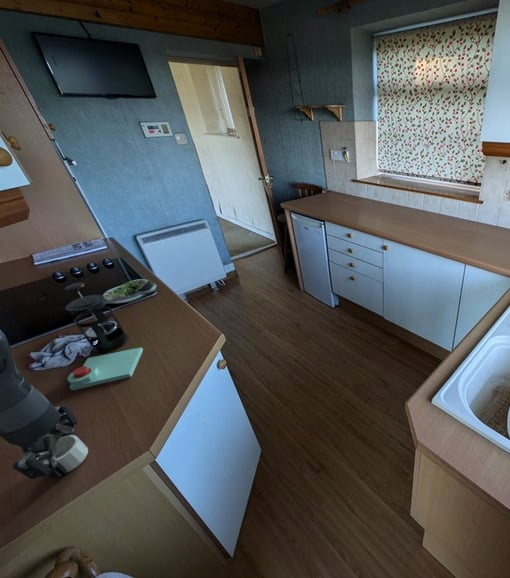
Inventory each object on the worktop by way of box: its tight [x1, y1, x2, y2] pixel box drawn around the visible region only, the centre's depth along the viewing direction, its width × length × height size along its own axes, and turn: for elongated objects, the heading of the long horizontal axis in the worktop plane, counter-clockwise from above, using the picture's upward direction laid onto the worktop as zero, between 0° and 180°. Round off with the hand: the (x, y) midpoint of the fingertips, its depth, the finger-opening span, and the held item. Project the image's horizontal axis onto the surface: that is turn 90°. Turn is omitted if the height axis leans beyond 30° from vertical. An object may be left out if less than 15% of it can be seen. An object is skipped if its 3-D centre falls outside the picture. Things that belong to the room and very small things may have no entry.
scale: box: [66, 347, 144, 391], centre depth 88 cm, size 15×12×3 cm
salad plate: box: [102, 278, 158, 305], centre depth 122 cm, size 19×18×5 cm
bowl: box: [38, 435, 89, 473], centre depth 65 cm, size 6×6×5 cm
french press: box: [64, 282, 130, 354], centre depth 93 cm, size 12×9×23 cm
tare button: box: [71, 365, 90, 378], centre depth 83 cm, size 3×3×2 cm
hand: (68, 459), depth 66 cm, fingers closed on bowl, 6 cm apart
